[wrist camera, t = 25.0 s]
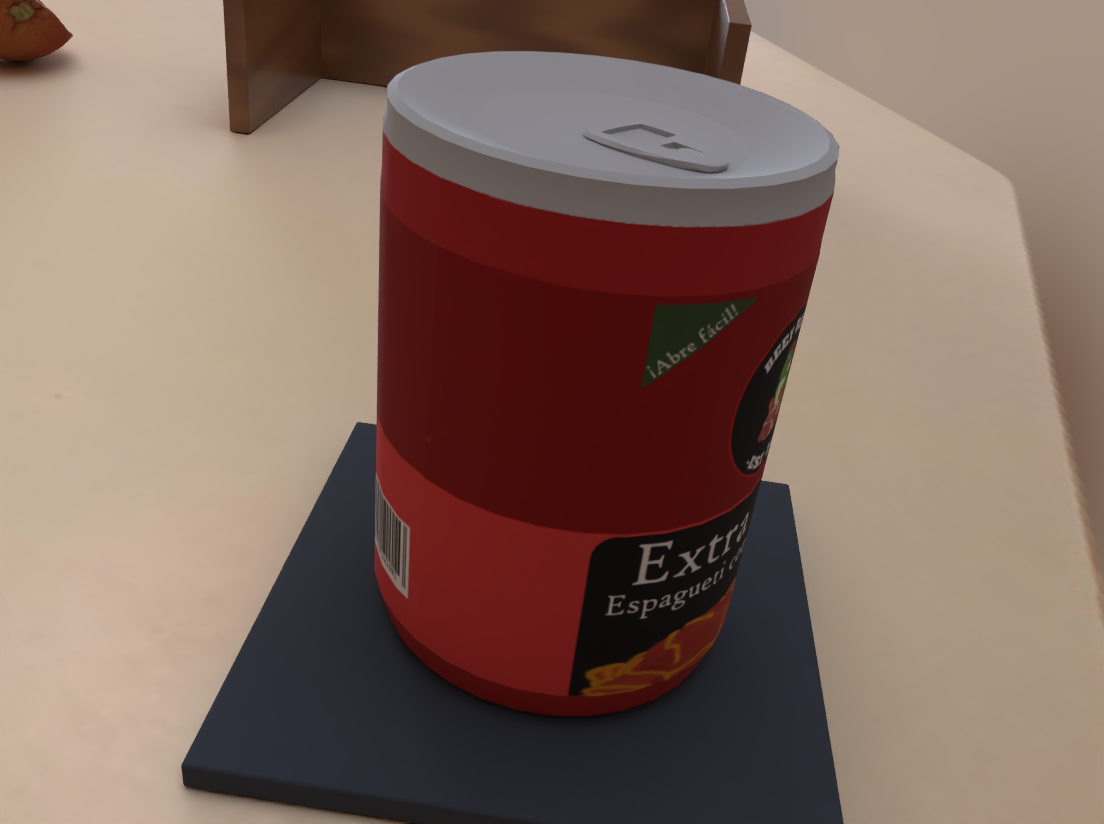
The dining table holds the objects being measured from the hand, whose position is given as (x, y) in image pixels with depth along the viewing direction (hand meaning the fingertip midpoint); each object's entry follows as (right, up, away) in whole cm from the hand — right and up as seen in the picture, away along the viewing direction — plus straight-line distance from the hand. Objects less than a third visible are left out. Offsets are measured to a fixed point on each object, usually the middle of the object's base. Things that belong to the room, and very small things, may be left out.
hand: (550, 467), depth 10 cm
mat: (0, -4, +13) cm, 14 cm away
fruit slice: (-30, +20, +47) cm, 59 cm away
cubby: (-3, +16, +45) cm, 48 cm away
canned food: (0, -4, +13) cm, 14 cm away
